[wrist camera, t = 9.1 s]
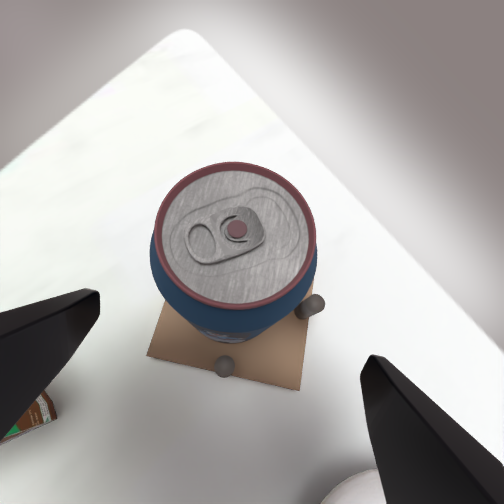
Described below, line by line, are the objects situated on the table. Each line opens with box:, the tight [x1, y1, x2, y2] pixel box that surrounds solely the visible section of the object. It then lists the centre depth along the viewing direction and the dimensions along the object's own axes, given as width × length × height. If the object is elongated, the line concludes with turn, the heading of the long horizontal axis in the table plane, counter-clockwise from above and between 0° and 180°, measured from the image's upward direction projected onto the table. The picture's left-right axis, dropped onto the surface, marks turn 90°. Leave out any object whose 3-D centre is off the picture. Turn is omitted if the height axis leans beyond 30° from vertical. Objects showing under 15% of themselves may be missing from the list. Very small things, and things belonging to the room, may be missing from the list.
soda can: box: [150, 162, 317, 343], centre depth 15 cm, size 7×7×12 cm
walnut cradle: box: [146, 279, 325, 391], centre depth 19 cm, size 11×11×5 cm
